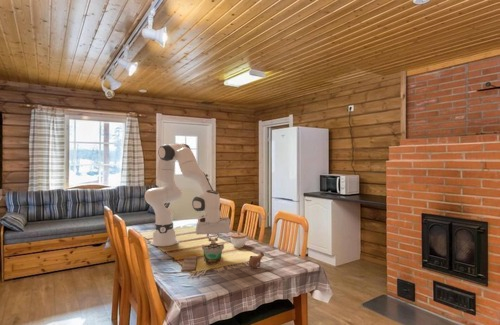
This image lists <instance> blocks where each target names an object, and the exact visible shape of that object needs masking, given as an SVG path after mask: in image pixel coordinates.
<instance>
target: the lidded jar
mask: <svg viewBox="0 0 500 325" xmlns="http://www.w3.org/2000/svg"><path fill="white" fill-rule="evenodd" d="M247 236H248V235H247V233H245V232H239V231H238V232H234V233H231V234H230V242H231V245H232V246H233V247H234V248H238V249H239V248H243V247H244V246H245V245H246V243H247Z"/></svg>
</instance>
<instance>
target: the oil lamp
mask: <svg viewBox="0 0 500 325" xmlns="http://www.w3.org/2000/svg"><path fill="white" fill-rule="evenodd" d="M263 257H265V254H264V252H263V251H260V252H259V254H257V255H250V256H249V260H248V266H249V267H250V268H251V269H257V268H259V267H261V260H262V258H263Z"/></svg>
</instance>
